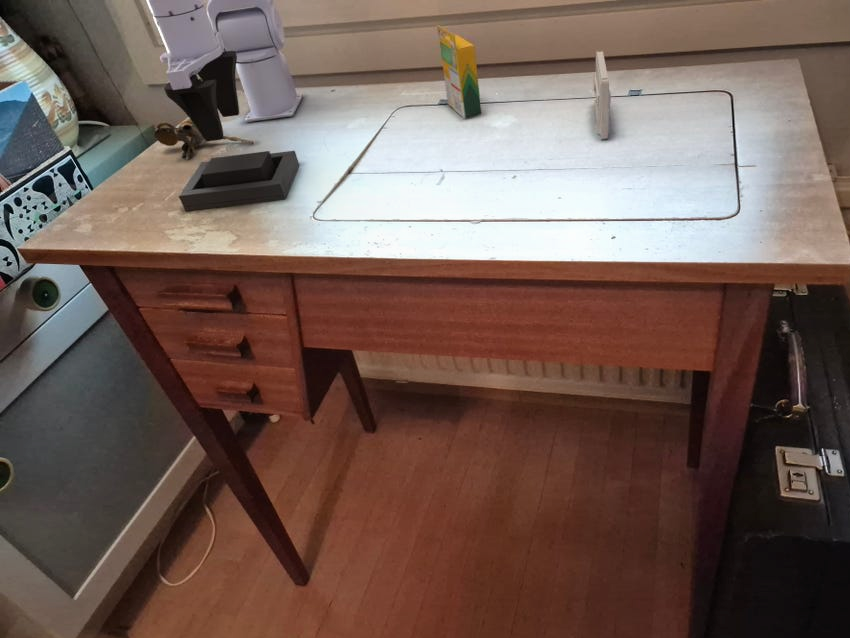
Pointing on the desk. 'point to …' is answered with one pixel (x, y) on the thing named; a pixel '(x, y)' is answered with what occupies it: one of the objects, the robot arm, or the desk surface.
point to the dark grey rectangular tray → (241, 187)
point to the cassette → (602, 96)
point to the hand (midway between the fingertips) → (223, 127)
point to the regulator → (184, 136)
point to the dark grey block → (238, 169)
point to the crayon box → (460, 74)
